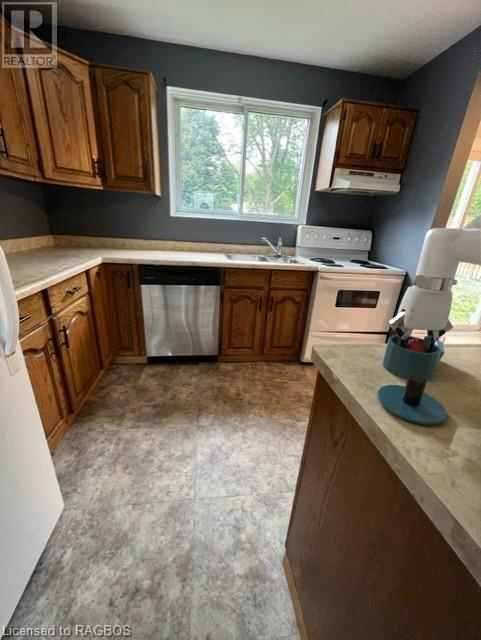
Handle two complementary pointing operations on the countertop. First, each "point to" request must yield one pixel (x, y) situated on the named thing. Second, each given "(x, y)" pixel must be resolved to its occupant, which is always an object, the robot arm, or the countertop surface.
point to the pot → (409, 360)
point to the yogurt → (440, 345)
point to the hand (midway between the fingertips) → (412, 351)
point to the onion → (416, 345)
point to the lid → (412, 402)
